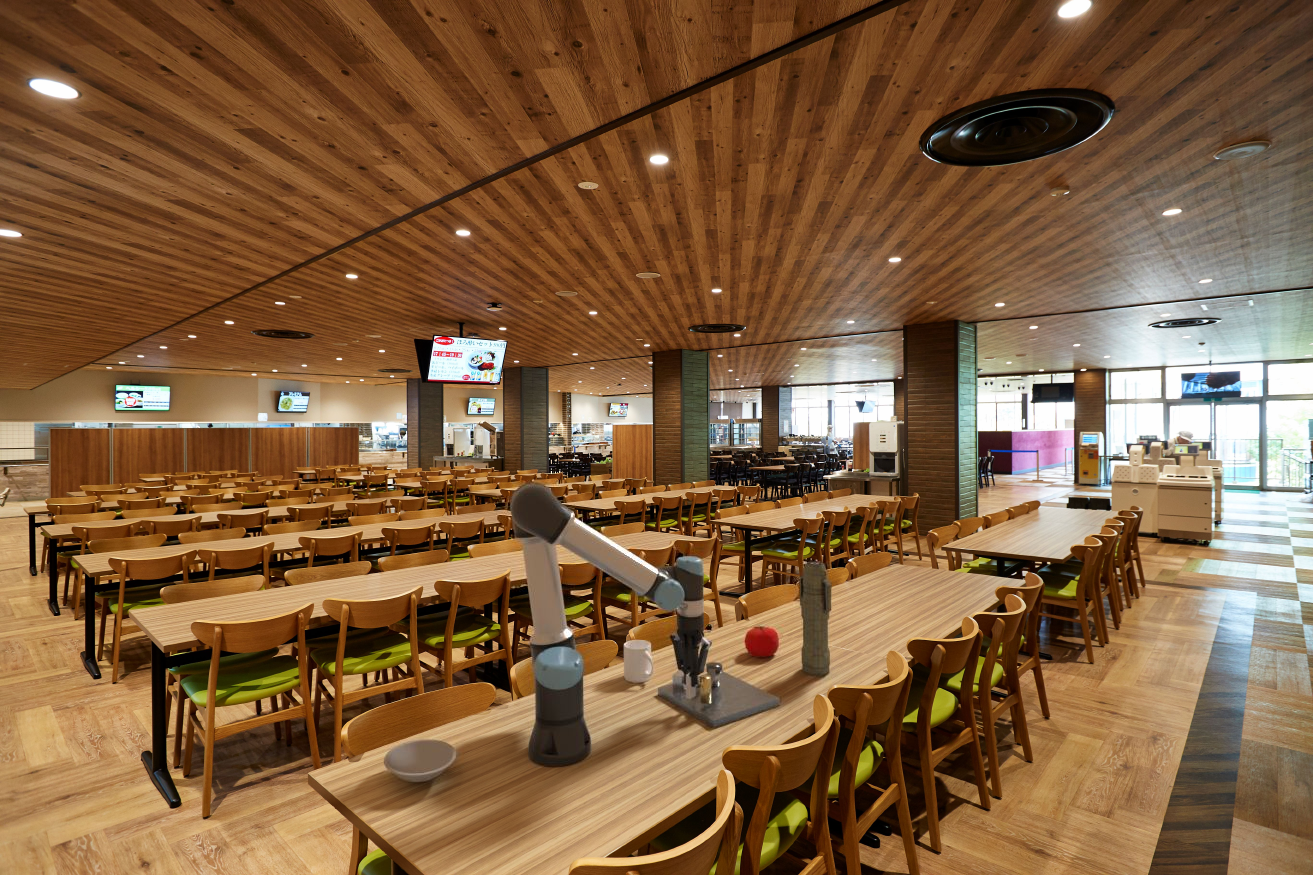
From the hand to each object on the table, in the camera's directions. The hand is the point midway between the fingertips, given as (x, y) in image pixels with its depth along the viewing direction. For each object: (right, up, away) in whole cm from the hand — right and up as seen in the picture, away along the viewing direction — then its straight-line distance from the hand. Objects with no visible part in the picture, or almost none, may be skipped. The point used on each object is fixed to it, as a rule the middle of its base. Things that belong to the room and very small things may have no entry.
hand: (690, 696), depth 173 cm
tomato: (+27, -4, +43) cm, 51 cm away
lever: (+6, 0, +5) cm, 8 cm away
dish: (-63, -4, -34) cm, 71 cm away
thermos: (+42, -3, +27) cm, 50 cm away
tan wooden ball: (+1, -2, +10) cm, 10 cm away
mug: (-15, -4, +22) cm, 27 cm away
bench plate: (+8, -4, +6) cm, 11 cm away
